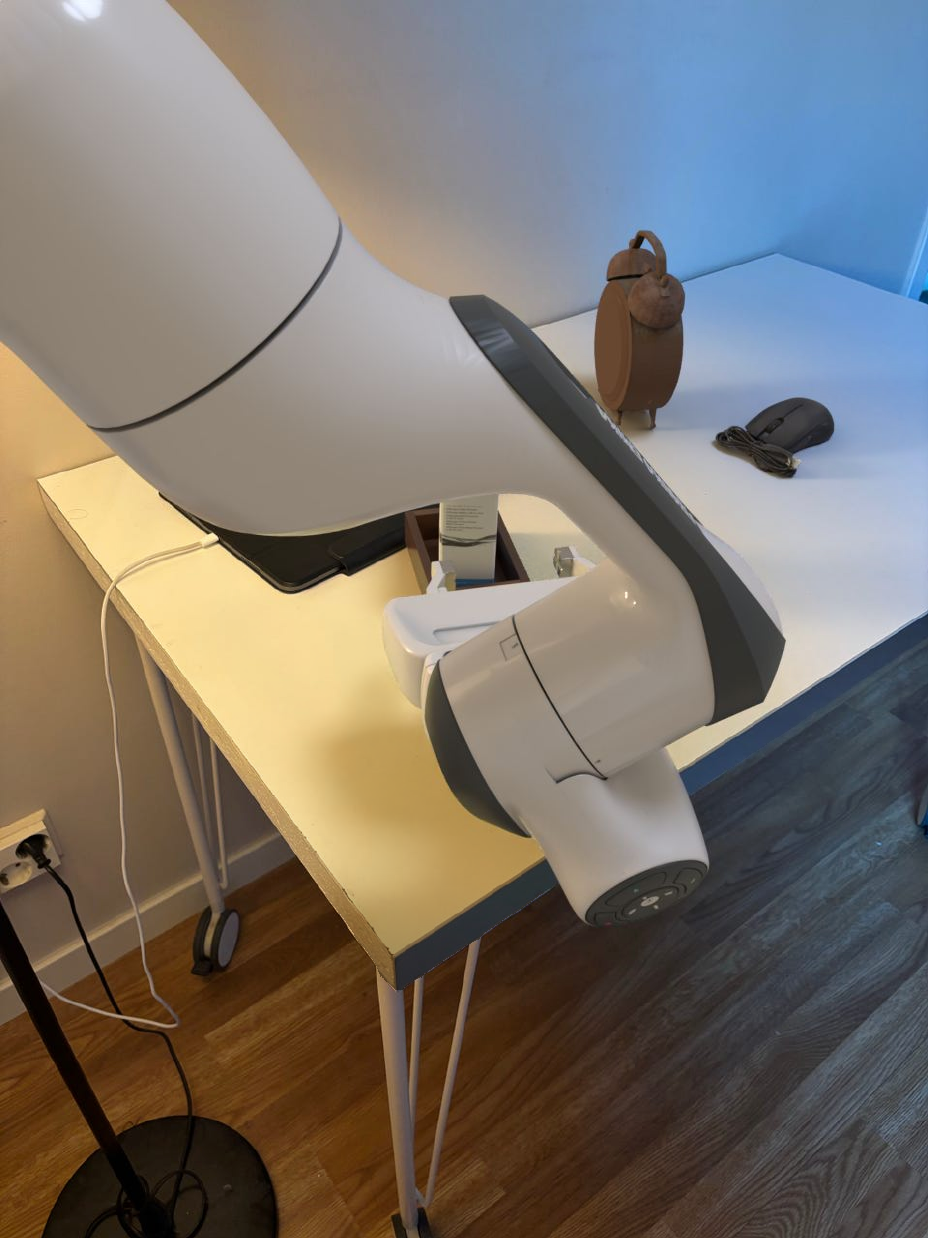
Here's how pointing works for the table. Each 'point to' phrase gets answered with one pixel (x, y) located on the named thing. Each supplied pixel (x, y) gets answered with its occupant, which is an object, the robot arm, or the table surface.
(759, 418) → the computer mouse
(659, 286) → the alarm clock
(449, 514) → the ink box
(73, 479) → the table surface
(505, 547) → the wooden tray
